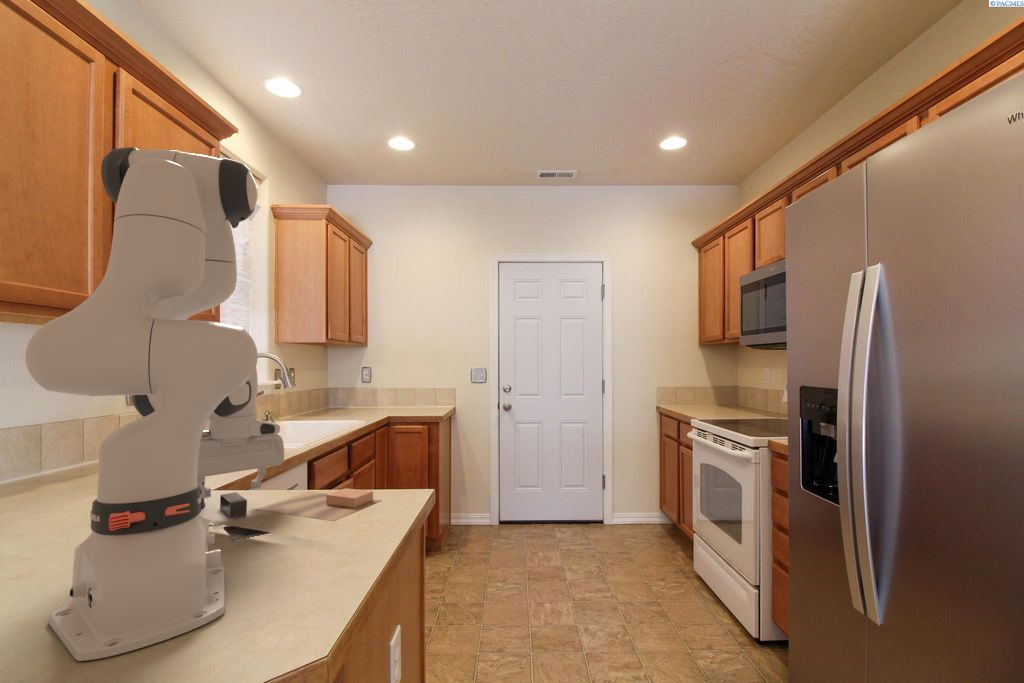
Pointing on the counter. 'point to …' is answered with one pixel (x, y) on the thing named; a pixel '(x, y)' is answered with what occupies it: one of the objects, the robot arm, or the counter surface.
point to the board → (313, 507)
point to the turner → (237, 516)
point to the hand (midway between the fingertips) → (231, 492)
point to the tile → (349, 497)
